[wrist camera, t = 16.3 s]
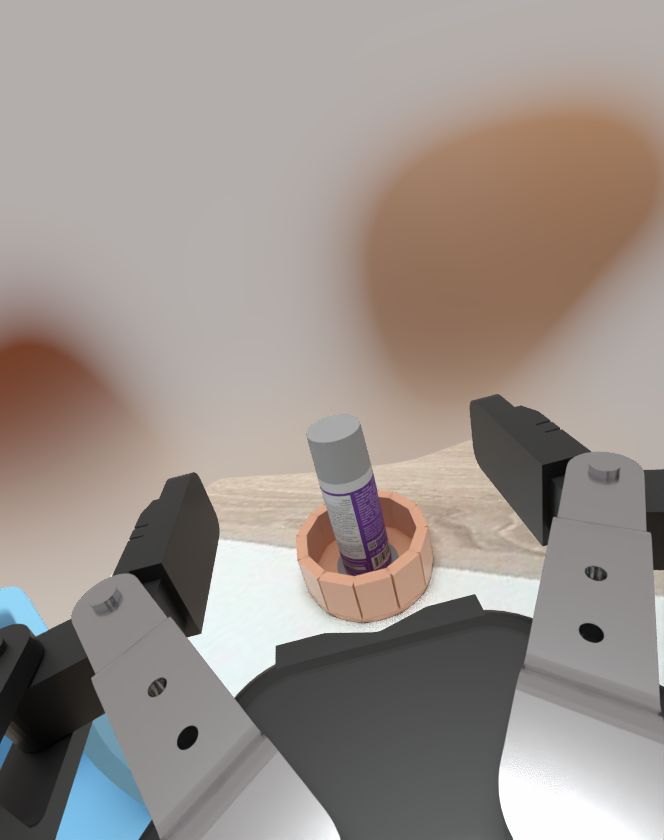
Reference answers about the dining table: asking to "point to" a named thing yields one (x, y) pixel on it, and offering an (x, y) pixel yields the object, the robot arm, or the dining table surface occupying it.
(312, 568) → the faceted terracotta pot
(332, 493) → the container
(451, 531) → the dining table surface
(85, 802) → the vase
